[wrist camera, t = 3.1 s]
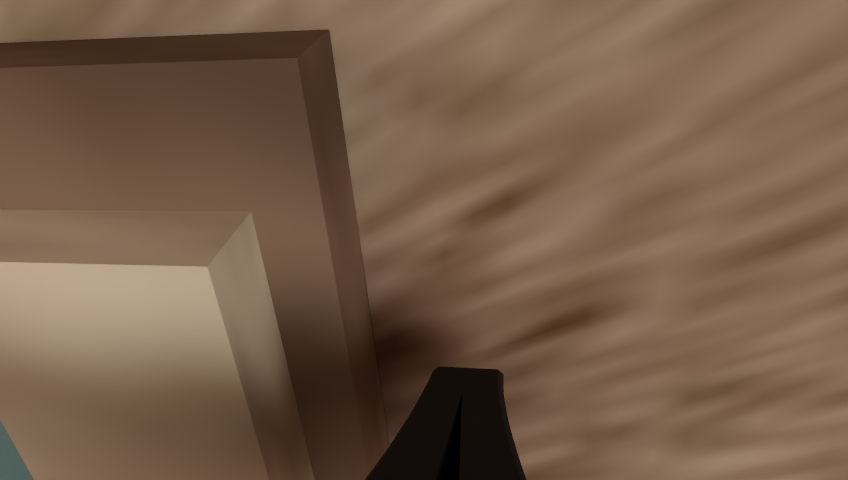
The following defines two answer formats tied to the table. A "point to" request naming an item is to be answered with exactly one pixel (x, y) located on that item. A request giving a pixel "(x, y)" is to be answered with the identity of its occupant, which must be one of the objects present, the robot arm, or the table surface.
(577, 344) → the table surface
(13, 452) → the teal mat
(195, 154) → the board
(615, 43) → the table surface
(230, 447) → the block
